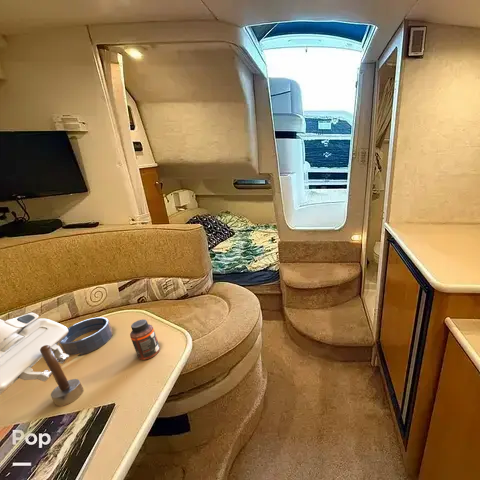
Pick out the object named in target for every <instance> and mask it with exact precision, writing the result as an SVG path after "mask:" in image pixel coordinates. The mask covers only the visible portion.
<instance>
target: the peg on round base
mask: <svg viewBox="0 0 480 480" xmlns="http://www.w3.org/2000/svg"><path fill="white" fill-rule="evenodd" d="M40 352H41V354H42V356H43V357H42V359H44V362H45V363H46V365H47V367H48V369H49V371H51V372H52V375H51V376H53V379H54V380H55V382H56V384H57V386H56V387H54V389H53V390H52V391H51V393H50V398H51V399H52V401H53V403H54V404H55V406H56V407H64V406H67V405H69V404H71V403H73V402H75V401H76V400H77V399H79V398H80V396H82V395H83V393H84V387H83V385H82V383H81V381H80V379H78V378H72V379H67V377H66V375H65V372H64V371H63V368H62V367H61V364H60V362H58V361H57V358H56V356H55V355H54V353H53V351H52V349H51V347H50V346H49V345H44V346H42V347H41V348H40Z"/></svg>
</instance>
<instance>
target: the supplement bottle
mask: <svg viewBox="0 0 480 480" xmlns="http://www.w3.org/2000/svg"><path fill="white" fill-rule="evenodd" d="M130 328H131V331H130V334H129V337H130V340H131V342H132V346H133V348H134V351H135V353H136V356H137V358H138V359H139V360H141V361H146V360H149V359H152V358H153V357H155V356H156V355H157V354H158V353H159V352H160V350H161V347H160V344H159V341H158V338H157V335H156V332H155V329H154V326H153V325H152V324H149V323H148V321H147V320H146V319H144V318H143V319H138V320H136V321H134V322H133V323H131V325H130Z"/></svg>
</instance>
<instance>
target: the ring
mask: <svg viewBox="0 0 480 480" xmlns="http://www.w3.org/2000/svg"><path fill="white" fill-rule="evenodd" d="M67 328H68V331H69V332H68V333H67V335H66V336H65V337H64V339H62V340H61V341H60V342H59V343H58V344H57V345H58V346H60V348H61V349H62V351H63V353H65V354H67V355H69V356H74V355H77V357H80V356H85V355H87V354H89V353H92V352H94V351H96V350H98V349H100V348H101V347H103V346H104V345H106V344H107V343H108V342H109V340H111V338H112V337H113V336H114V333H113V328H112V325H111V322H110V320H109V319H108V318H107V317H104V316H97V317H92V318H87V319H85V320H82V321H79V322H76V323H74V324H73V325H71V326H69V327H67ZM93 331H96V332H95V333H92V334H91V335H89V336H87V337H84V338H82V339H78V340H76V339H77V338H79V337H81V336H83V335H85V334H88V333H91V332H93Z"/></svg>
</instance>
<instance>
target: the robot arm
mask: <svg viewBox="0 0 480 480" xmlns="http://www.w3.org/2000/svg"><path fill="white" fill-rule="evenodd" d="M39 317H40V315H39V314H37V313H35V312H28V313H25V314H23V315H20V316H19V315H18V316H17V317H13V318H9V319H6V320H4V319H2V318H0V396H1V395H2V394H3V393H5V392H6V391H7V390H8V389H9V388H10V387H12V385H14V384H15V383H16V382H17V381H18V380H23V381H35V380H37V381H41V382H46V381H47V380H48V379H50V377H52V376H53V375H52V372H51V371H50V370H48V369H44V370H43V371H34V369H33V368H32V367H34V365H36V364H37V363H38V362H39V361H41V360H42V359H43V356H42V354H41V352H40V348H41V347H42V346H44V345H49V346H50V347H51V349H52V351H53V353H54V355H55V357H56V359H57V361H58V363H59V364H60V365H61V364H64V363H65V362H66V361H67V360H69V358H70V355H67V354H65V353H63V351H62V349H61V348H60V346H59V345H58V343H59V342H60V341H61V340H62V339H64V337H65V336H66V335H67V333H68V332H69V331H68V328H69V327H67V326H65V325H63V324H62V323H59V322H57V321H55V320H52V319H49V318H46V317H45V318H44V317H40V318H39Z"/></svg>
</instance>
